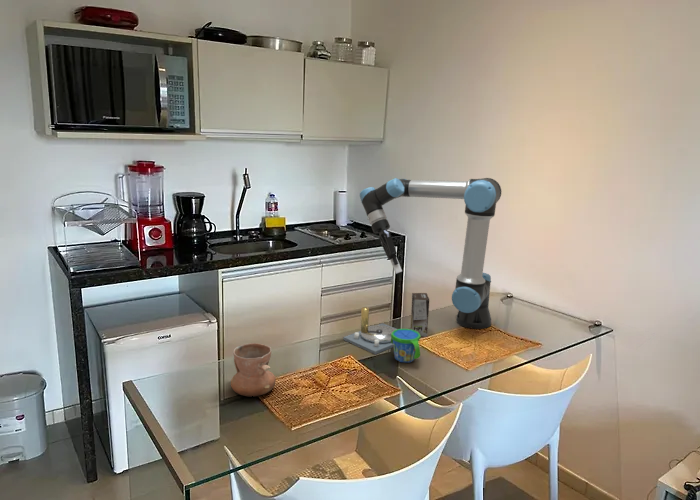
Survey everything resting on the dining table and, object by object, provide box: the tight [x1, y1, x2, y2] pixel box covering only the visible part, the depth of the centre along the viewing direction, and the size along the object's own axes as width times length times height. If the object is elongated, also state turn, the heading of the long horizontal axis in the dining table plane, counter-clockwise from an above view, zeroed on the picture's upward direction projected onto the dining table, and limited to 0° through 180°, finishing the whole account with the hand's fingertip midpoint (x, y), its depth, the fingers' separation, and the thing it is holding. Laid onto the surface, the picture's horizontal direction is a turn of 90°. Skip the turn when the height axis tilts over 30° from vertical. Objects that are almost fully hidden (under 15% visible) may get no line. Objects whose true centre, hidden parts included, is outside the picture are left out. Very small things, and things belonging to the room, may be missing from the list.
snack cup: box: [391, 328, 422, 364], centre depth 198 cm, size 16×10×10 cm
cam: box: [360, 306, 395, 343], centre depth 214 cm, size 15×15×12 cm
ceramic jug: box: [230, 342, 277, 398], centre depth 173 cm, size 18×14×14 cm
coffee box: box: [410, 292, 430, 337], centre depth 222 cm, size 9×6×16 cm
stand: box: [342, 322, 398, 355], centre depth 216 cm, size 18×23×4 cm
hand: (398, 272), depth 223 cm, fingers closed
